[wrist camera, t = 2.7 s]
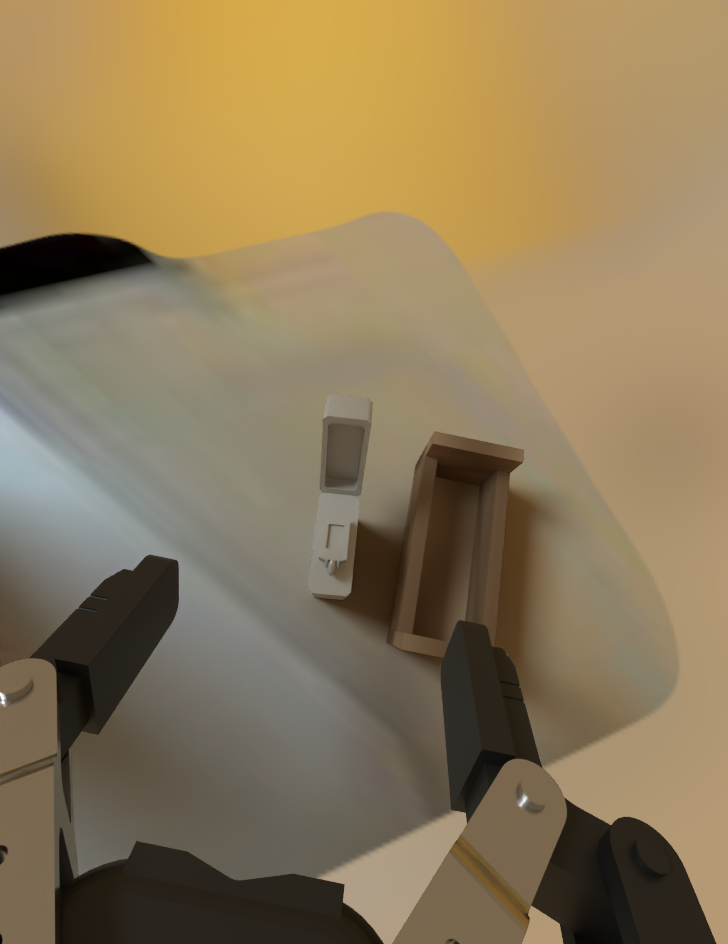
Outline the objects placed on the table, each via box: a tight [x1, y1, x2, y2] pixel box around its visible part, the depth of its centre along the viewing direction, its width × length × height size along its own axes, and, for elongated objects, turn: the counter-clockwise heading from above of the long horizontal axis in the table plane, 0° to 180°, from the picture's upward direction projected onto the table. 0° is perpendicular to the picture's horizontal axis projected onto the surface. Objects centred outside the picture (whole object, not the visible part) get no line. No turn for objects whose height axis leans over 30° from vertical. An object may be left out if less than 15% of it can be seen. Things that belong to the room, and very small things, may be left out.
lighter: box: [307, 394, 372, 600], centre depth 18 cm, size 7×2×8 cm, turn 175°
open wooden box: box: [387, 431, 524, 658], centre depth 20 cm, size 4×9×4 cm, turn 169°
